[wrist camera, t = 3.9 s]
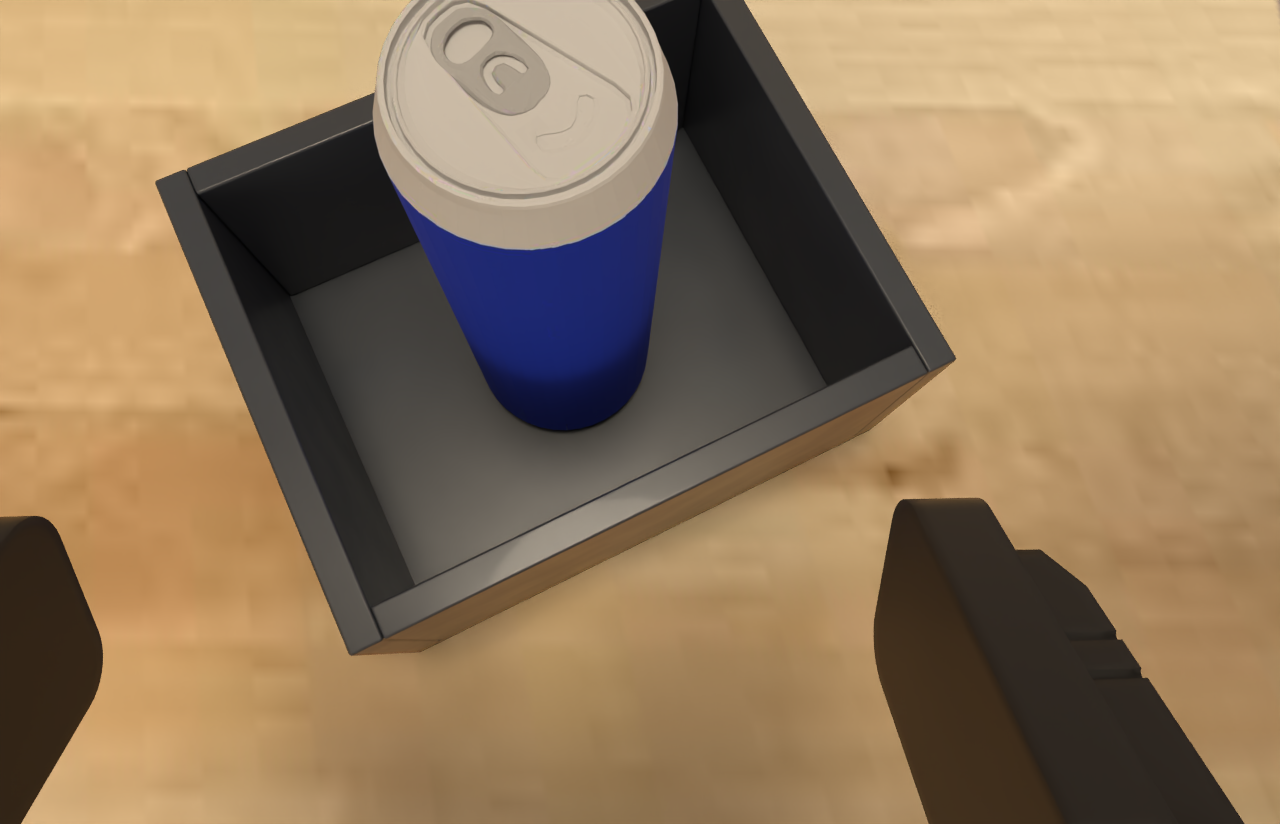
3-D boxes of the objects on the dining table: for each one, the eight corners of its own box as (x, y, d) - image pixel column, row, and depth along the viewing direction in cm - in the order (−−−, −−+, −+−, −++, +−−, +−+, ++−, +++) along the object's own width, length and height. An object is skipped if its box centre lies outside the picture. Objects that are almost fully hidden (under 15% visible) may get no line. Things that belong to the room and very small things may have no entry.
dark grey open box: (692, 110, 32) (716, -48, 25) (871, 429, 30) (958, 358, 22) (264, 293, 30) (153, 180, 23) (418, 653, 28) (349, 657, 20)
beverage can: (680, 349, 30) (748, 67, 15) (569, 468, 29) (526, 289, 14) (560, 247, 30) (515, -118, 16) (448, 359, 29) (288, 81, 15)
